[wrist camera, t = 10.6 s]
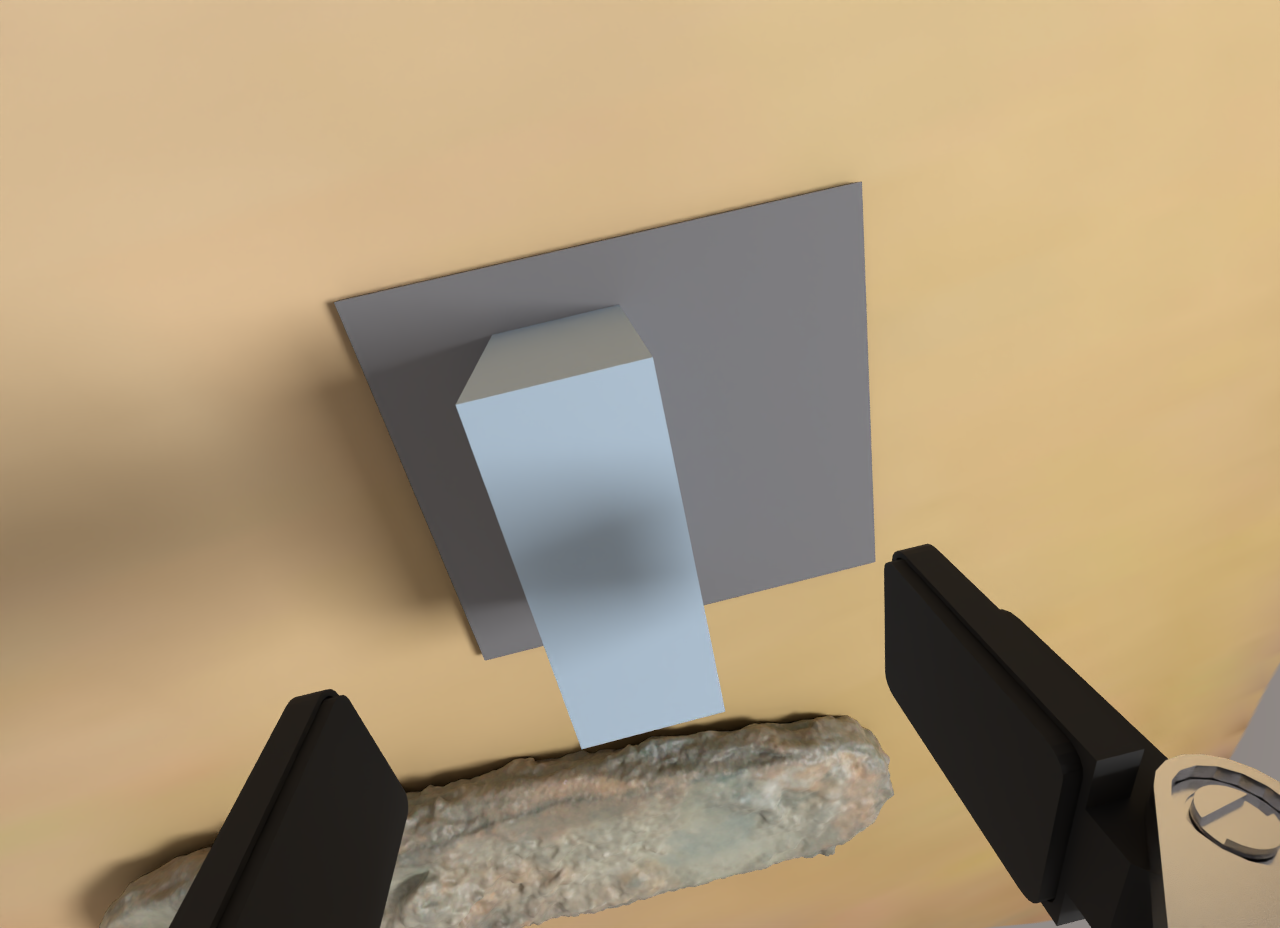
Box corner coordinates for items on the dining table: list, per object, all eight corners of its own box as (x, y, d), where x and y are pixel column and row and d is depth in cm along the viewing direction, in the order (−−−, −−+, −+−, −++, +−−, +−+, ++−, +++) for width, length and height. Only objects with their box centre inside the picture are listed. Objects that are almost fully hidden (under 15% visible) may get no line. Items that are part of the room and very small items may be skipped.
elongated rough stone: (854, 785, 32) (850, 641, 28) (912, 881, 27) (917, 721, 23) (186, 978, 28) (83, 839, 24) (114, 1130, 23) (-29, 985, 20)
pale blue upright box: (490, 335, 18) (452, 405, 11) (618, 304, 18) (652, 357, 11) (573, 592, 22) (579, 750, 16) (676, 566, 22) (725, 711, 16)
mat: (338, 300, 17) (333, 302, 17) (855, 182, 18) (861, 181, 17) (486, 653, 23) (484, 660, 23) (870, 556, 24) (875, 561, 23)
